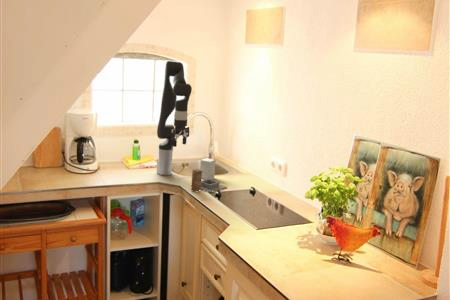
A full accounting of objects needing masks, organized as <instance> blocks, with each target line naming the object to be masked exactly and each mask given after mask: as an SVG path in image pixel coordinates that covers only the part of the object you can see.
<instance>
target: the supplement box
mask: <svg viewBox="0 0 450 300" xmlns="http://www.w3.org/2000/svg"><path fill="white" fill-rule="evenodd" d="M199 170H202V177H201V180H207V179H210V180H213V179H215V176H216V175H215V174H216V172H215V171H216V159H213V158H207V157H206V158H203V159H200V169H199Z"/></svg>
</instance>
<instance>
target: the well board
mask: <svg viewBox="0 0 450 300" xmlns="http://www.w3.org/2000/svg"><path fill="white" fill-rule="evenodd" d="M191 186H192V184H190V187H191ZM224 188H225V189H227V188H228V187H227V186H226V185H222V184H220V182H219V181H215V180H213V179H211V180H210V179H207V180H206V179H202V180H201V189H202V190H201V191H203V190H205V191H204V192H206V191H208V192H207V193H209V192H212V191H215V192H217V191H216V190H218V191H221V190H220V189H222V190H225V189H224ZM212 193H213V192H212Z"/></svg>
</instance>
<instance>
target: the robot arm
mask: <svg viewBox="0 0 450 300" xmlns="http://www.w3.org/2000/svg"><path fill="white" fill-rule="evenodd" d="M170 77H173V79H172V82H173V85H172V83H171V80H170V79H171V78H170ZM192 92H193V89H192V85H191V84H189V83H187V81H186V79H185V69H184V65H183V63H182V62H179V61H173V60H172V61H171V60H167V61H166V63H165V66H164V79H163V89H162V96H161V102H160V103H161V105H160V115H159V119H158V124H157V129H156V134H157V135H156V136H157V138H158V139H159V140H163V139H164V140H165V141H162V142H159V144H158V157H157V160H156V161H157V162H156V174H158V175H161V176H170V175H172V170H173V154H174V153H173V152H174V148H176V147H178V146H177V141H178V138H179V137H181V136H182V145H186V144H187V138H189V137H190V127H189V126H188V107H189V106H188V104H189V99H190V97H191V96H192V95H191V94H192ZM177 97H183V98H181V99H178V98H177ZM177 99H178V100H177ZM174 110H175V111H174ZM173 112H174V115H173V117H174V118H173V124H167V120H168V119H169V117H170V115H172V113H173Z"/></svg>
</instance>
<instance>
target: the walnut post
mask: <svg viewBox="0 0 450 300" xmlns="http://www.w3.org/2000/svg"><path fill="white" fill-rule="evenodd" d="M201 177H202V170H200V169H198V168H195V169H192V174H191V185H192V186H191V185H190V188H191V189H190V191H191V190H193V191H192V192H194V191H199V190H201V181H202V178H201ZM201 191H202V190H201ZM199 192H200V191H199Z"/></svg>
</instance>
